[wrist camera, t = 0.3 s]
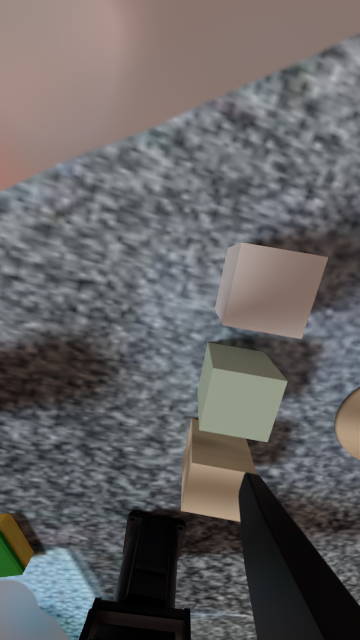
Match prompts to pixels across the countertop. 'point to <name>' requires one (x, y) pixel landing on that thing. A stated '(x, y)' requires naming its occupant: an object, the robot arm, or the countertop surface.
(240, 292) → the offwhite block
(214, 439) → the maple block
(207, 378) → the sage block
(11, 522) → the dish sponge
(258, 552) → the robot arm
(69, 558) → the countertop surface
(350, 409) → the coaster
